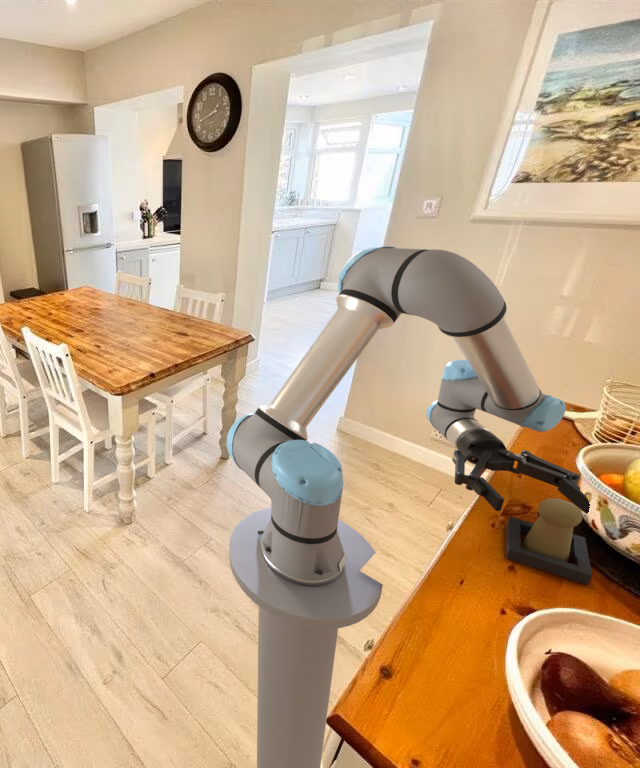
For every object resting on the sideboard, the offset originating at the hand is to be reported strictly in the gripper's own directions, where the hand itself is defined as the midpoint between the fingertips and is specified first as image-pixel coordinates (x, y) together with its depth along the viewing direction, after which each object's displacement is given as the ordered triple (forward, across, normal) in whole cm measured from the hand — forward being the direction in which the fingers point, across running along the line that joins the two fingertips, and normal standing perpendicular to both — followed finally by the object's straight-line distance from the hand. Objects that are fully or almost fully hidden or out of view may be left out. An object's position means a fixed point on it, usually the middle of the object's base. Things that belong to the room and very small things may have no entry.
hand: (544, 506), depth 72 cm
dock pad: (+3, 0, -8) cm, 9 cm away
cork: (+3, 0, -8) cm, 9 cm away
